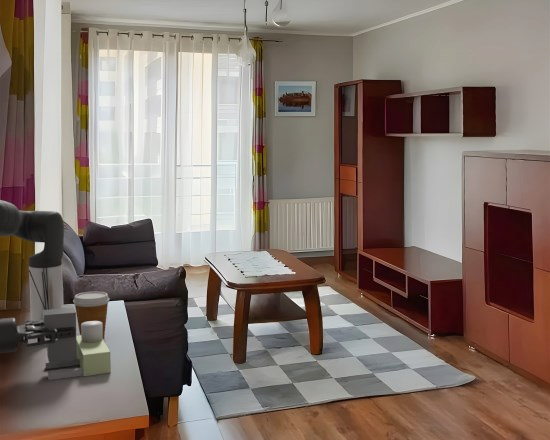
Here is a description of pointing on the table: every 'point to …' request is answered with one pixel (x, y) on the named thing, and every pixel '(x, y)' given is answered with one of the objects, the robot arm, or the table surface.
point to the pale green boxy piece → (85, 354)
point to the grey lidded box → (64, 346)
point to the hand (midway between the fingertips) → (73, 328)
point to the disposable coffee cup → (91, 308)
